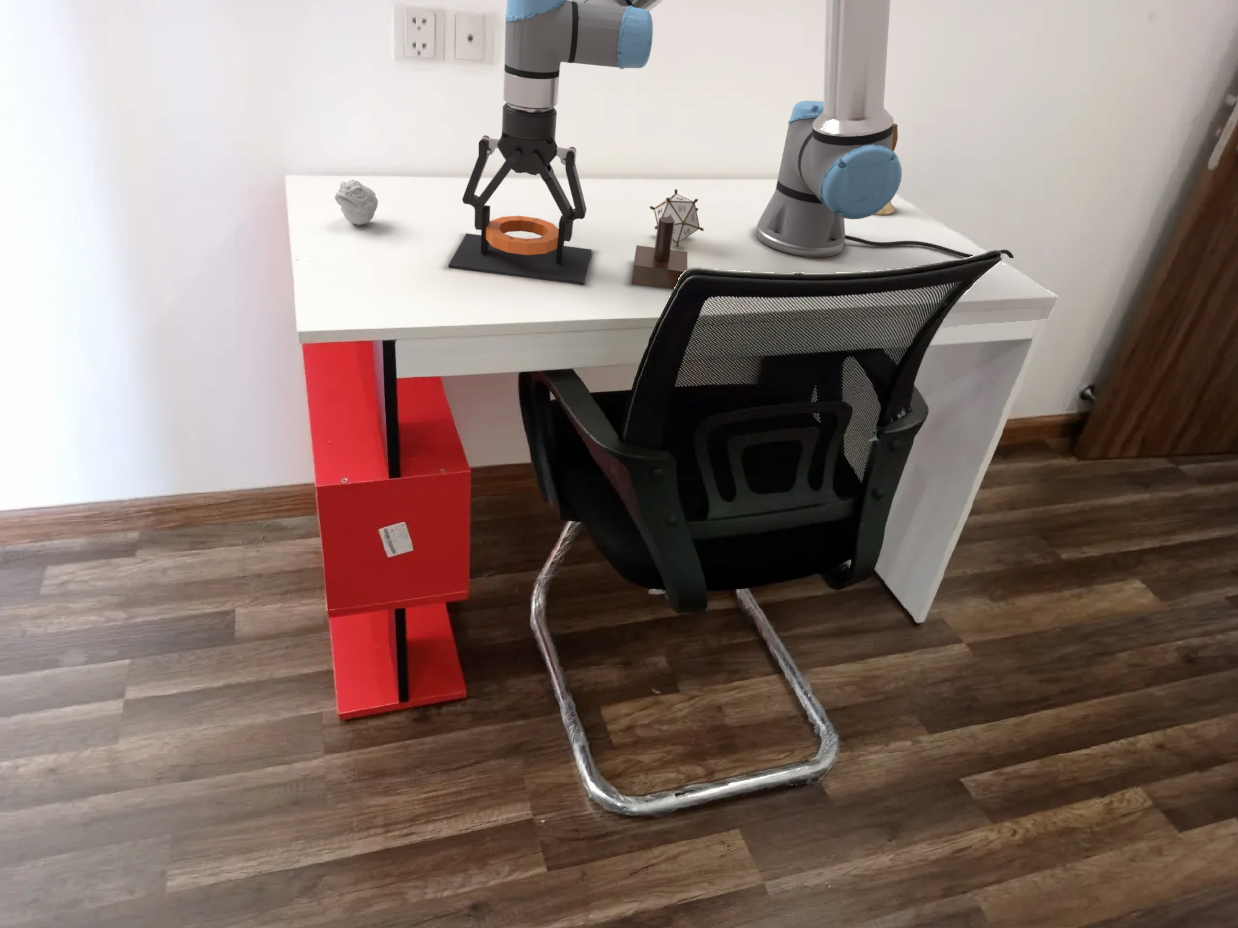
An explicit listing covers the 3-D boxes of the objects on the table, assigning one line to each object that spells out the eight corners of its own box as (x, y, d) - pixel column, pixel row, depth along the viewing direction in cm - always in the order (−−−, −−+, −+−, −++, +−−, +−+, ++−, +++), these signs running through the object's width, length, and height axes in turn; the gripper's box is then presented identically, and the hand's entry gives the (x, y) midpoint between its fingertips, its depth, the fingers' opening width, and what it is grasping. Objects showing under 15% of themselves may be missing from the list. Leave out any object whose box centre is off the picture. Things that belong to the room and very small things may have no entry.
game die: (665, 266, 152) (645, 226, 144) (657, 231, 157) (636, 190, 149) (716, 246, 150) (698, 204, 142) (706, 211, 155) (688, 169, 147)
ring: (562, 232, 142) (563, 221, 140) (553, 258, 133) (554, 247, 132) (493, 223, 141) (494, 212, 140) (480, 249, 133) (481, 237, 132)
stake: (684, 269, 142) (693, 214, 137) (684, 290, 136) (693, 233, 131) (634, 263, 142) (641, 207, 137) (631, 283, 136) (638, 226, 130)
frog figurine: (327, 225, 141) (324, 181, 137) (357, 213, 147) (354, 170, 143) (359, 235, 139) (356, 190, 136) (387, 223, 145) (386, 179, 141)
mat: (591, 251, 144) (591, 249, 144) (583, 284, 133) (583, 282, 133) (466, 235, 144) (466, 233, 144) (448, 267, 133) (448, 264, 133)
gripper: (615, 109, 129) (599, 255, 142) (452, 88, 129) (452, 236, 141) (611, 123, 123) (595, 274, 135) (440, 100, 123) (441, 254, 135)
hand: (522, 255), depth 138 cm, fingers closed on ring, 11 cm apart
